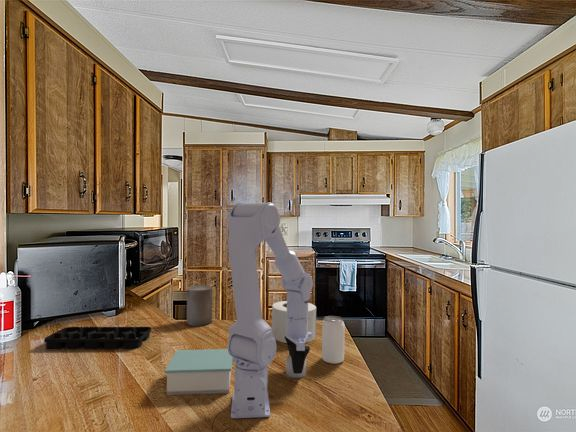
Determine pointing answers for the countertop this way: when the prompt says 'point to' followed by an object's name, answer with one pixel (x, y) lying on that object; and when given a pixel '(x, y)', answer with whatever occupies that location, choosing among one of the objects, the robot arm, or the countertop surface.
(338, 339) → the can
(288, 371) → the grey rounded dome
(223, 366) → the lid
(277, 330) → the toilet paper roll
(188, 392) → the box
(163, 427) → the countertop surface
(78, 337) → the black muffin tray
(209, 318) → the pillar candle
